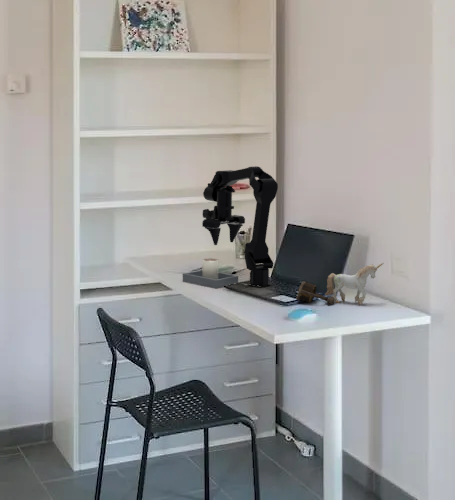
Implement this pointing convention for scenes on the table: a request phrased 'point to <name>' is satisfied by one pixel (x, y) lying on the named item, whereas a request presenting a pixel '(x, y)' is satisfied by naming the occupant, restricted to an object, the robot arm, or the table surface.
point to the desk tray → (220, 282)
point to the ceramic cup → (210, 268)
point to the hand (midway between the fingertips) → (223, 243)
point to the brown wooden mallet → (311, 293)
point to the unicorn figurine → (350, 282)
